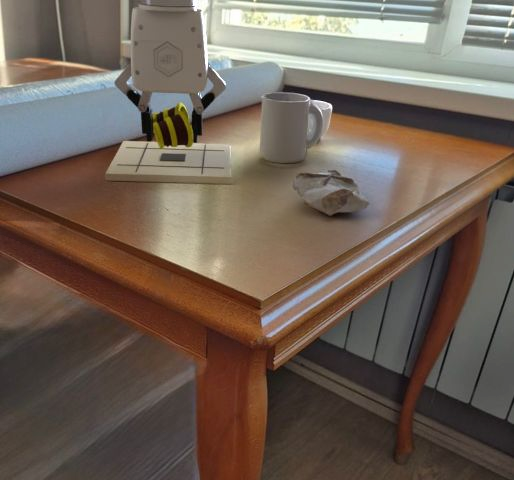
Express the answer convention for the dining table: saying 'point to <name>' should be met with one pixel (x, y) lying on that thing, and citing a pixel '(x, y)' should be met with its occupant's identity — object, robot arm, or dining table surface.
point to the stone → (329, 192)
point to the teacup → (326, 115)
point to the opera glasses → (173, 127)
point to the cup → (288, 126)
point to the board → (171, 163)
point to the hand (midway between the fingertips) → (172, 138)
